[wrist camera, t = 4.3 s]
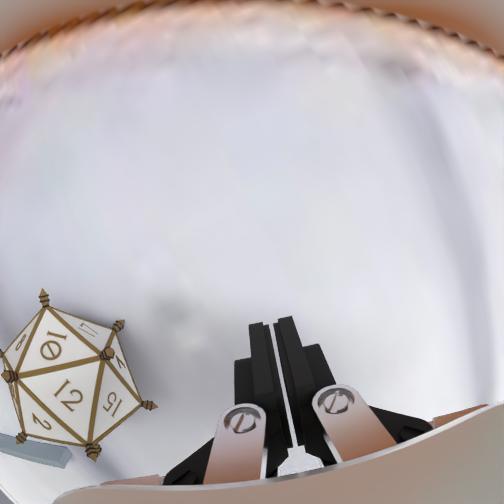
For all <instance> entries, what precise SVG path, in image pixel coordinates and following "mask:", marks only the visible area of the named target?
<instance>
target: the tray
mask: <svg viewBox="0 0 504 504" xmlns="http://www.w3.org/2000/svg"><path fill="white" fill-rule="evenodd" d="M0 452H3V453H6V454H9V455H12V456H16V457H19V458H22V459H26V460H29V461H33V462H37V463H41V464H45V465H49V466H54V467H59V468H63V469H65V467H66V465H67V463H68V460H69V458H70V456H71V453H70V451H69V450H68V449H67V448H66V447H62V446H55V445H50V444H44V443H39V442H34V441H29V440H26V441H25V442H24V444H23V443H22V444H16V437H12V436H8V435H4V434H1V433H0Z"/></svg>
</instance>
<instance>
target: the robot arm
mask: <svg viewBox="0 0 504 504" xmlns="http://www.w3.org/2000/svg"><path fill="white" fill-rule="evenodd" d="M273 326H274V331H275V336H276V341H277V346H278V352H279V357H280V362H281V367H282V373H283V378H284V383H285V387H286V392H287V397H288V401H289V406H290V410H291V415H292V420H293V424H294V429H295V434H296V438H297V443H298V446H302V445H304V447H305V451H306V453H309V454H311V455H313V456H316V457H318V461H319V464H320V466H321V468H318V469H314V470H310V471H305V472H300V473H295V474H290V475H284V476H280V473H281V470H280V465H281V464H282V463H283V462H284V460H285V459H286V458H287V457H289V456H288V450H287V448H292V447H293V444H292V439H291V434H290V429H289V424H288V419H287V413H286V408H285V403H284V398H283V393H282V388H281V383H280V378H279V373H278V368H277V363H276V358H275V353H274V349H273V344H272V339H271V334H270V329H269V325H264V326H263V322H260V323H255V324H250V325H249V336H250V348H251V358H246V359H240V360H235V362H234V386H235V406H232V407H230V408H229V409H227V410H226V411H225V412H224V413H223V414H222V415H221V416H220V419H219V421H218V425H217V429H216V433H215V437H213V438H212V439H211V440H210V441H208V442H207V443H206V444H205V445H203V446H202V447H201V448H200V449H198V450H197V451H196V452H194V453H193V454H192V455H191V456H189V457H188V458H187V459H185V460H184V461H183V462H181V463H180V464H178V465H177V466H176V467H174V468H173V469H172V470H171V471H169V472H168V473H167V474H166V476H163V477H160V476H159V475H158V474H157V475H152V476H145V477H139V478H132V479H124V480H115V481H108V482H104V483H102V484H101V485H98V486H88V487H83V488H78V489H74V490H71V491H68V492H66V493H63V494H62V495H60V496H59V497H58V498H57V499H56V500H55V501H54V502H53V503H52V504H504V401H500V402H497V403H494V404H491V405H488V404H484V405H479V406H475V407H472V408H469V409H465V410H462V411H458V412H454V413H451V414H447V415H443V416H439V417H434V418H433V420H432V421H430V422H427V421H425V420H422V419H419V418H415V417H411V416H406V415H402V414H398V413H394V412H390V411H387V410H383V409H379V408H375V407H372V406H368V405H367V404H366V402H365V401H364V400H363V398H362V397H361V396H360V394H359V393H358V392H357V391H356V390H355V389H354V388H352V387H350V386H347V385H336V382H335V380H334V378H333V375H332V373H331V371H330V368H329V366H328V364H327V361H326V359H325V357H324V354H323V352H322V350H321V347H320V345H319V344H314V345H309V346H305V347H302V344H301V341H300V338H299V335H298V332H297V330H296V327H295V324H294V321H293V318H292V316H289V317H284V318H280V319H278V323H274V324H273Z"/></svg>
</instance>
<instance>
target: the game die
mask: <svg viewBox="0 0 504 504" xmlns="http://www.w3.org/2000/svg"><path fill="white" fill-rule="evenodd" d="M48 296H49V295H48V294H47V293H46V292H45V291H44V290H43V288H42V290H41V293H40V296H39V298H40V302H41V303H42V305H43V308H42V309H41V310H40V311H39V312H38V313H37V314H36V316H35V317H34V318H33V319H32V320H31V321H30V322H29V323H28V325H27V326H26V327H25V328H24V329H23V330H22V331H21V333H20V334H19V335H18V336H17V337H16V339H15V340H14V341H13V342H12V343H11V345H10V346H9V347H8V348H7V349H6V351H5V352H3V351H1V349H0V358H3V363H4V368H5V370H4V372H3V373H2V374H1V376H2V377H3V378H4V380H5V381H6V382H7V383H8V385H9V389H10V393H11V396H12V400H13V403H14V407H15V410H16V413H17V416H18V419H19V423H20V425H21V428H22V432H21V433H18V434H19V435H18V436H16V444H22V443H23V444H24V442H25V441H26V437H27V436H30V437H34V438H39V439H43V440H48V441H52V442H58V443H63V444H69V445H74V446H81V447H86V450H85V452H87V456H88V457H89V458H91V459H92V460H94V461H95V462H96V460H97V457H98V454H99V455H100V452H101V449H102V448H100V445H98V444H97V443H98V442H99V441H101V440H102V439H103V438H104V437H105V436H107V435H108V434H109V433H110V432H111V431H113V430H114V429H115V428H116V427H117V426H119V425H120V424H121V423H122V422H123V421H125V420H126V419H127V418H128V417H129V416H130V415H132V414H133V413H134V412H135V411H136V410H137V409H139V408H140V407H144V408H145V409H146V410H147V409H149V410H150V411H151V410H152V409H155V408H158V406H157V405H155V404H154V403H153V401H148V400H147V401H142V399H141V397H140V395H139V392H138V390H137V387H136V385H135V382H134V380H133V377H132V375H131V372H130V370H129V367H128V364H127V362H126V359H125V356H124V353H123V351H122V348H121V345H120V342H119V339H118V336H117V333H116V332H118V331H121V329H123V323H124V320H121V321H116V323H115V324H113V325H114V326H113V328H108V327H105V326H102V325H99V324H97V323H94V322H91V321H88V320H85V319H82V318H80V317H77V316H74V315H71V314H69V313H66V312H63V311H61V310H58V309H56V308H53V307H51V306H49V301H50V300H49V299H48Z"/></svg>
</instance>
